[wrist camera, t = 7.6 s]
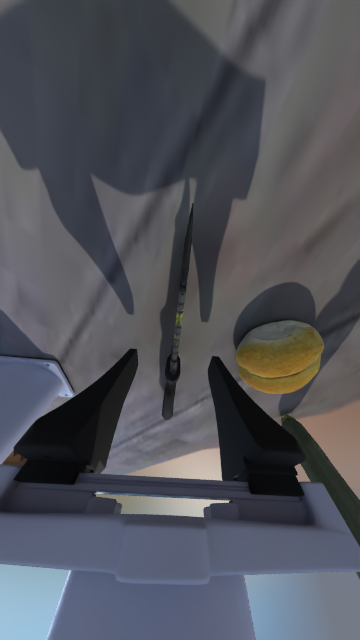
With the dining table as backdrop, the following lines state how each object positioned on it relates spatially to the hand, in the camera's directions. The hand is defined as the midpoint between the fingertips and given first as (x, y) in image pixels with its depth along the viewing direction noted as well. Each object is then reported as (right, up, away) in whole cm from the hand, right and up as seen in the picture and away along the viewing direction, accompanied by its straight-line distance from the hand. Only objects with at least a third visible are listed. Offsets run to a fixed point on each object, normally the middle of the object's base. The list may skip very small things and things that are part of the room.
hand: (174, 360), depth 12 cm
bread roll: (+11, 0, +3) cm, 11 cm away
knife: (0, +2, +3) cm, 3 cm away
